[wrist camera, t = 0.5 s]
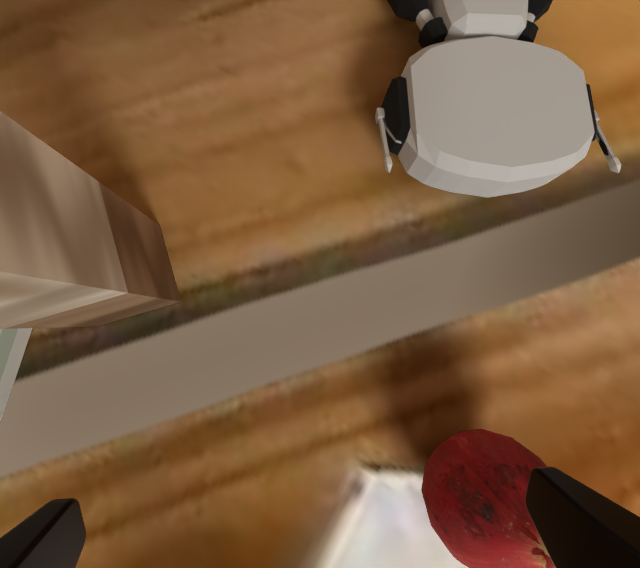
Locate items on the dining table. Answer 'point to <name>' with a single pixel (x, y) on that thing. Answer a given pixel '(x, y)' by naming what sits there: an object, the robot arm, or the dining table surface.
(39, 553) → the robot arm
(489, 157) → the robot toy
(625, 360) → the dining table surface
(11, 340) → the picture frame
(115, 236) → the block stack
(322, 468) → the dining table surface
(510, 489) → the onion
